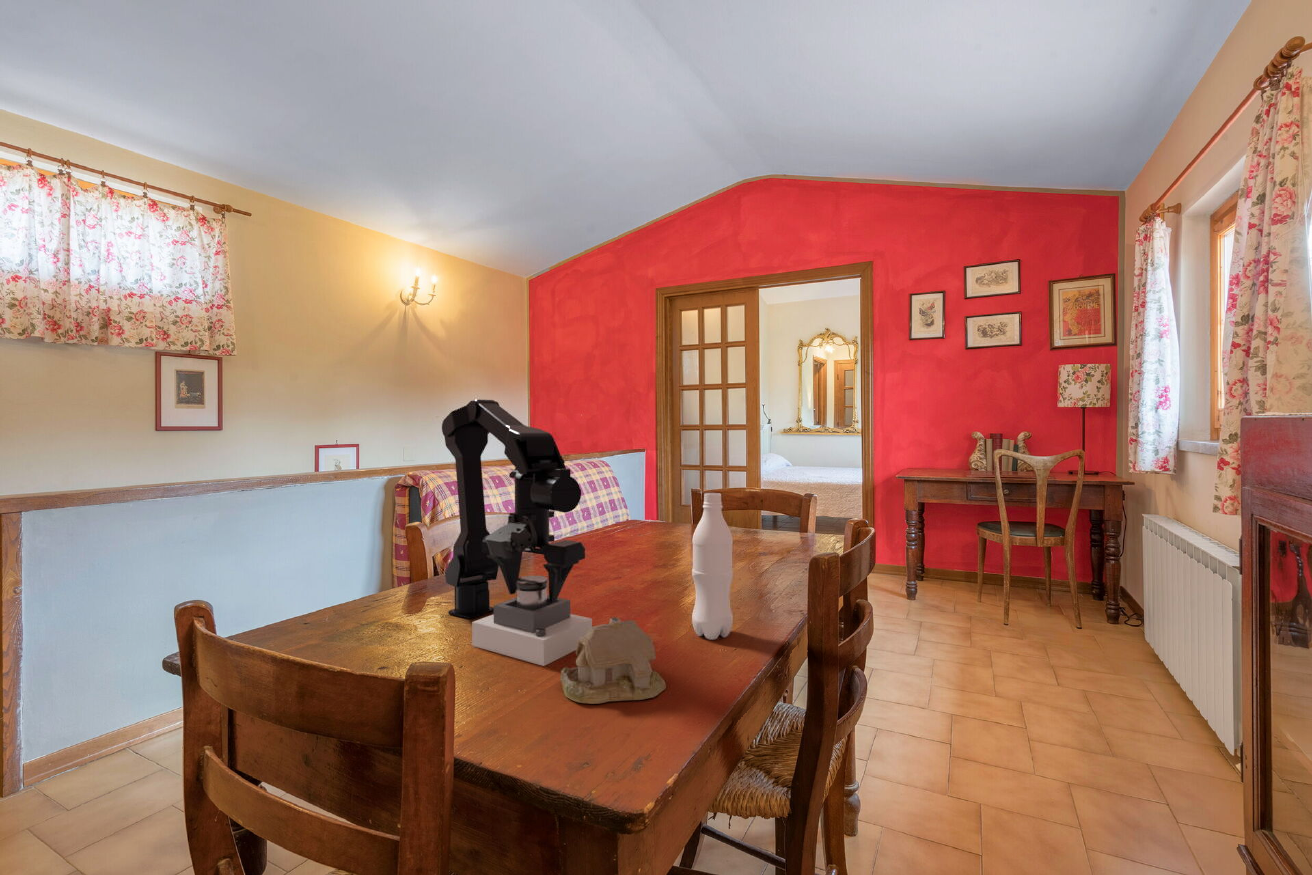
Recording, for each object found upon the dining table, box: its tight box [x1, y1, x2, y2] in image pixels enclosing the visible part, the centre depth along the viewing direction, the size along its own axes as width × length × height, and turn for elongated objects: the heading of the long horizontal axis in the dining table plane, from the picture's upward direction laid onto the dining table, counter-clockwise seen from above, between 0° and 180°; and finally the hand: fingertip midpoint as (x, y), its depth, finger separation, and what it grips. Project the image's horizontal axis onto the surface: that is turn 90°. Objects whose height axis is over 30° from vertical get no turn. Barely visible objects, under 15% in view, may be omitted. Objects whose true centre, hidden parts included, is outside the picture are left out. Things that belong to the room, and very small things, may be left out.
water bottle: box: [691, 492, 734, 641], centre depth 104 cm, size 7×7×25 cm
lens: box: [516, 575, 549, 611], centre depth 100 cm, size 5×5×7 cm
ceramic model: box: [560, 616, 667, 705], centre depth 83 cm, size 14×11×10 cm
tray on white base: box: [471, 595, 593, 667], centre depth 100 cm, size 16×12×7 cm
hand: (532, 597), depth 100 cm, fingers open, 9 cm apart
